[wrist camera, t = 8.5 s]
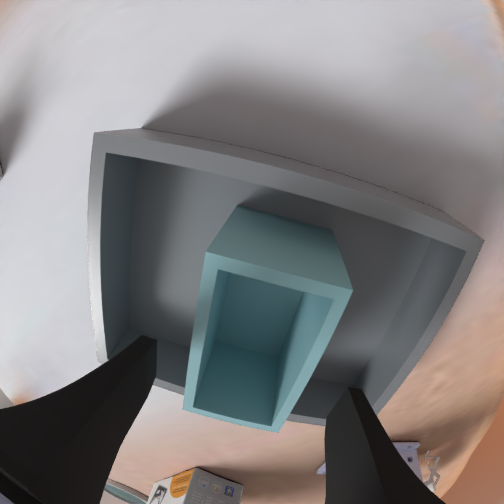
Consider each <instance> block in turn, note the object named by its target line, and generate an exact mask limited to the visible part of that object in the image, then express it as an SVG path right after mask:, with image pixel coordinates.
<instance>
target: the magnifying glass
mask: <svg viewBox="0 0 504 504" xmlns="http://www.w3.org/2000/svg"><path fill="white" fill-rule="evenodd" d="M104 491H105V492H106V493H108V494H109V495H111V496H113V497H115V498H117V499H119V500H121V501H124V502H126V503H128V504H147V501H148V497H146V496H145V495H143V494H141V493H139V492H137V491H135V490H133V489H131V488H129V487H127V486H125V485H123V484H120V483H118V482H116V481H113V480H110V479H107V482H106V485H105V488H104Z"/></svg>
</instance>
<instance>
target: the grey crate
mask: <svg viewBox="0 0 504 504" xmlns="http://www.w3.org/2000/svg"><path fill="white" fill-rule="evenodd" d="M237 205H240V206H244V207H248V208H252V209H256V210H259V211H263V212H267V213H271V214H275V215H278V216H282V217H286V218H290V219H293V220H297V221H301V222H304V223H308V224H311V225H315V226H318V227H322V228H326V229H329V230H332V231H333V234H334V236H335V239H336V242H337V244H338V247H339V250H340V253H341V256H342V259H343V261H344V264H345V267H346V270H347V273H348V276H349V279H350V282H351V285H352V288H353V292H352V294H351V296H350V299H349V301H348V303H347V305H346V307H345V310H344V312H343V314H342V316H341V318H340V320H339V322H338V324H337V327H336V329H335V331H334V333H333V335H332V337H331V339H330V341H329V343H328V345H327V347H326V349H325V351H324V353H323V355H322V357H321V359H320V360H319V362H318V364H317V366H316V368H315V370H314V372H313V374H312V375H311V377H310V379H309V381H308V383H307V385H306V386H305V388H304V390H303V392H302V393H301V395H300V397H299V399H298V400H297V402H296V404H295V406H294V407H293V409H292V411H291V412H290V414H289V416H288V417H287V419H286V420H287V421H293V422H299V423H306V424H313V425H320V426H326V417H327V416H328V414H329V413H330V411H331V410H332V409H333V407H334V406H335V404H336V403H337V402H338V400H339V399H340V397H341V396H342V394H343V393H344V391H345V390H346V388H347V387H351V388H358V389H362V391H363V392H364V394H365V396H366V398H367V399H368V401H369V403H370V405H371V407H372V409H373V410H374V412H375V414H376V415H377V414H378V413H379V412H380V411H381V409H382V408H383V407H384V406H385V405H386V403H387V402H388V401H389V400H390V398H391V397H392V396H393V395H394V393H395V392H396V391H397V390H398V388H399V387H400V386H401V384H402V383H403V382H404V380H405V379H406V378H407V376H408V375H409V374H410V372H411V371H412V369H413V368H414V367H415V365H416V364H417V362H418V361H419V359H420V358H421V356H422V355H423V354H424V352H425V351H426V349H427V348H428V346H429V344H430V343H431V341H432V340H433V338H434V337H435V335H436V333H437V332H438V330H439V329H440V327H441V325H442V324H443V322H444V320H445V319H446V317H447V315H448V313H449V312H450V310H451V308H452V306H453V304H454V303H455V301H456V299H457V297H458V295H459V293H460V291H461V289H462V288H463V286H464V284H465V282H466V280H467V278H468V276H469V274H470V271H471V269H472V267H473V265H474V263H475V261H476V259H477V256H478V254H479V252H480V249H481V247H482V245H483V242H484V240H483V239H482V238H481V237H479V236H478V235H477V234H475V233H474V232H472V231H471V230H470V229H468V228H467V227H465V226H464V225H463V224H461V223H460V222H458V221H457V220H455V219H454V218H453V217H451V216H450V215H448V214H447V213H445V212H443V211H441V210H438V209H436V208H434V207H431V206H429V205H426V204H424V203H421V202H419V201H416V200H414V199H411V198H409V197H406V196H403V195H401V194H398V193H395V192H393V191H390V190H387V189H384V188H382V187H379V186H376V185H373V184H370V183H367V182H364V181H361V180H358V179H355V178H352V177H349V176H346V175H343V174H340V173H337V172H333V171H330V170H327V169H324V168H320V167H317V166H313V165H310V164H306V163H303V162H299V161H296V160H292V159H288V158H285V157H281V156H277V155H273V154H269V153H265V152H261V151H257V150H253V149H249V148H244V147H240V146H235V145H231V144H226V143H222V142H217V141H212V140H207V139H202V138H196V137H191V136H185V135H180V134H174V133H168V132H162V131H155V130H148V129H141V128H138V129H125V130H114V131H104V132H95V133H94V137H93V145H92V154H91V164H90V177H89V193H88V223H87V243H88V274H89V290H90V302H91V313H92V322H93V330H94V338H95V345H96V352H97V358H98V363H100V364H104V363H105V362H106V361H108V360H109V359H111V358H112V357H113V356H115V355H116V354H117V353H119V352H120V351H121V350H123V349H124V348H125V347H127V346H128V345H129V344H130V343H132V342H133V341H134V340H135V339H137V338H138V337H139V336H141V335H145V336H148V337H150V338H153V339H156V340H158V341H157V369H156V377H155V380H154V382H153V385H155V386H158V387H161V388H164V389H167V390H170V391H173V392H176V393H179V394H182V395H184V393H185V385H186V377H187V369H188V362H189V354H190V347H191V340H192V333H193V327H194V320H195V313H196V307H197V301H198V295H199V288H200V282H201V276H202V271H203V265H204V259H205V253H206V251H207V249H208V248H209V246H210V245H211V243H212V242H213V240H214V239H215V237H216V236H217V234H218V233H219V231H220V230H221V228H222V227H223V225H224V224H225V222H226V221H227V219H228V218H229V216H230V215H231V213H232V212H233V210H234V209H235V208H236V206H237Z"/></svg>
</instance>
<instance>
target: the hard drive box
mask: <svg viewBox="0 0 504 504" xmlns="http://www.w3.org/2000/svg"><path fill="white" fill-rule="evenodd" d="M242 492H243V486H242V485H240V484H237V483H234V482H231V481H228V480H226V479H223V478H221V477H218V476H215V475H213V474H211V473H208V472H206V471H203V470H201V469H199V468H194V469H191V470H189V471H184V472H182V473H180V474H178V475H175V476H173V477H170V478H167V479H162V480H160V481H158V482H155V483H154V485H153V488H152V491H151V493H150V496H149V498H148V501H147V504H240V502H241V497H242Z"/></svg>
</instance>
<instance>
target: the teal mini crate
mask: <svg viewBox="0 0 504 504" xmlns="http://www.w3.org/2000/svg"><path fill="white" fill-rule="evenodd" d="M352 292H353V288H352V285H351V282H350V279H349V276H348V273H347V270H346V267H345V264H344V261H343V259H342V256H341V253H340V250H339V247H338V244H337V242H336V239H335V236H334V234H333V231H332V230H329V229H326V228H322V227H318V226H315V225H311V224H308V223H304V222H301V221H297V220H293V219H290V218H286V217H282V216H278V215H275V214H271V213H267V212H263V211H259V210H256V209H252V208H248V207H244V206H240V205H237V206H236V208H235V209H234V210H233V212H232V213H231V215H230V216H229V218H228V219H227V221H226V222H225V224H224V225H223V227H222V228H221V230H220V231H219V233H218V234H217V236H216V237H215V239H214V240H213V242H212V243H211V245H210V246H209V248H208V249H207V251H206V253H205V259H204V265H203V271H202V276H201V282H200V288H199V295H198V301H197V307H196V313H195V320H194V327H193V333H192V340H191V347H190V354H189V362H188V369H187V377H186V385H185V393H184V401H183V410H186V411H189V412H193V413H196V414H199V415H203V416H207V417H210V418H214V419H218V420H221V421H225V422H229V423H234V424H238V425H242V426H247V427H251V428H256V429H261V430H266V431H271V432H277V433H278V432H279V431H280V429H281V427H282V426H283V424H284V422H285V421H286V419H287V417H288V416H289V414H290V412H291V411H292V409H293V407H294V406H295V404H296V402H297V400H298V399H299V397H300V395H301V393H302V392H303V390H304V388H305V386H306V385H307V383H308V381H309V379H310V377H311V375H312V374H313V372H314V370H315V368H316V366H317V364H318V362H319V360H320V359H321V357H322V355H323V353H324V351H325V349H326V347H327V345H328V343H329V341H330V339H331V337H332V335H333V333H334V331H335V329H336V327H337V324H338V322H339V320H340V318H341V316H342V314H343V312H344V310H345V307H346V305H347V303H348V301H349V299H350V296H351V294H352Z"/></svg>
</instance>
